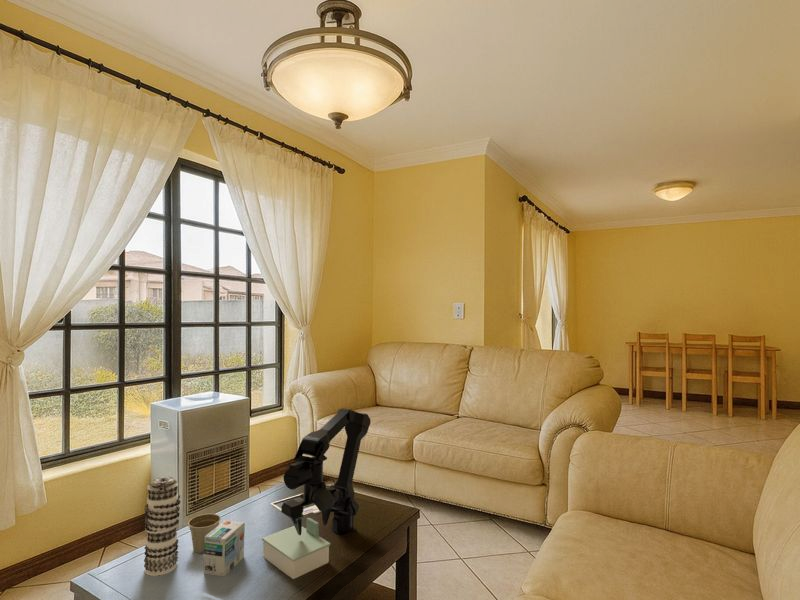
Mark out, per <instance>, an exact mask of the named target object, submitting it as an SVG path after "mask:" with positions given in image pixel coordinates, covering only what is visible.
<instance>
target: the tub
mask: <svg viewBox="0 0 800 600" xmlns="http://www.w3.org/2000/svg"><path fill="white" fill-rule="evenodd" d="M262 543H263V550H262V551H263V552H262V555H263V556H262V557H263V558H265V560H267V561H268V562H270V563H271V564H272V565H273V566H275V567H276V568H278V569H279V570H280V571H281V572H283V573H284V574H286V576H288V577H289V578H290V579H292V580H294V579H297V578H299V577H301V576H303V575H306V574H307V573H309V572H312V571H315V570H316V569H318V568H320V567H323V566H325V565H326V564H329V559H330V550H329V549H330V546H328V547H325V548H323V549H321V550H319V551H316V552H314V553H312V554H310V555H308V556H305V557H303V558H301V559H299V560H296V561H294V562H293V561H291V560H290V559H288V558H287V557H285V556H284V555H283V554H281V553H280V552H278V551H277V550H276V549H274V548H273V547H271V546H270V545H268V544H267V543H266V542H264V541H262Z"/></svg>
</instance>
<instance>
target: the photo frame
mask: <svg viewBox="0 0 800 600" xmlns="http://www.w3.org/2000/svg"><path fill="white" fill-rule="evenodd" d="M301 494H303V493H299V494H296V495H293V496H289V497H286V498H284V499H280V500H277V501H274V502H270V503H269V504H270V506H272V507H273V508H275V509H276V510H278V511H279V512H281V507H279V506H278V505H276V504H277V503H280V502H283V501H284V502H285V501H286V500H291V499H294V498H297V497H299V496H300V497H301ZM310 513H314V514H315V515H316V514H319V513H322V512H321V511H319V509H318V508H317V506H316V505H315V504H313V505H310V506H308V507H305V508H304V510H303V513H302V514H303V515H304V516H305V515H307V514H310ZM287 517H289V516H287ZM289 518H290V517H289Z"/></svg>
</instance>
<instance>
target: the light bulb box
mask: <svg viewBox="0 0 800 600" xmlns="http://www.w3.org/2000/svg"><path fill="white" fill-rule="evenodd" d="M245 526H246V524H245V522H239V521H234V520H233V521H232V520H226V519H225V520H224V521H223V522H222V523H219V525H218V527H216V528H215V529H214V530H212V531H211V532H210V533H209V534H207V535H206V536H205V545H204V552H203V557H204V558H203V575H204V576H205V575H214V576H218V577H219V576H220V577H225V576H226V575H228V574H229V573H230V572H231V570H232V569H234V567H236V566H237V565H238V563H240V562H241V561H242V560H243V559H244V557H245V533H246V532H245V531H246V530H245Z"/></svg>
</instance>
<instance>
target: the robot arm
mask: <svg viewBox="0 0 800 600" xmlns="http://www.w3.org/2000/svg"><path fill="white" fill-rule="evenodd" d="M371 421H372V420H371V418H370V416H369V414H367V413H361V412H357V411H356V410H353V409H350V408H339V409H338V411H337V413H335V415H333V416H332V417H331V418H330V419H329V420H328V421H327V422H326V423H325V424H324V425H323V426H322V427H321V428H320V429H318V430H315V431H312V432H310V433H307V434H306V435H305V436H304V437H303V438H302V439H301V441H300V443H299V446H298V448H297V451H296V453H295V455H294V458H293V461H294V463H291V464H289V466H288V467H289V468H288V469H287V470H286V471H285V472H284V475H283V482H284V486H286V487H287V488H288V489H289V490H296V489H298V488H300V487H302V486H303V494H302V493H300V494H301V495H300V498H301V499H302V500H301V501H298V500H295V499H294V498H292V499H289V501H284V502H283V503H282V504H281V507H280V508H281V511H280V512H281V513H282V514H284V515H286V516H287V517H288V516H289V518H290V519H291V521H292V525H293V526H295V528H296V531H297V533H298V535H301V531H302V527H303V523H302V522H303V520H302V519H303V518H304V516H305V515H303V514H302V513H303V510H304V509H305V508H308V507H311V506H314V505H316V506H317V508H318V509H319V511H321V512H320V513H321V518H322V519H321V520H322V524H323V525H324V526H326V525H327V524H328V521H329V519H330V515H331V513H333V517H332V527H331V528H330V530H331V531H333V532H334V533H335V534H339V535H340V536H344V535H346V534H349V533H350V534H351V533H354V532H356V531H357V528H356V527H355V526H354V524H355V523H354V520H355V519H354V517H355V516H356V515H357V513H358V511H359V507H360V505H359V504H358V502H357V501H356V499H355V495H356V494H355V489H354V487H353V480H354V475H355V470H356V465H357V462H358V458H359V457H358V455H359V452H360V448H361V442H362V440H363V438H364V437H365V436H367V433H368V431H369V427H370V425H371ZM343 429H344V431H345V433H346V434H345V435H346V442H345V446H344V449H343V454H342V459H341V463H340V468H339V473H338V477H337V481H336V482H335V483H334V484H331V485H330V486H329V487H327V485H326V481H325V480H324V478H323V476H324V475H323V474H324V461H327V459H328V457H327V456H326V455H325V454H326V453H327V451H328V450H329V449H330V447H331V446H330V444H331V441H333V439H334V438H335V437H336V436H337V435H338V434H339V433H340V432H341V431H343Z"/></svg>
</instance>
